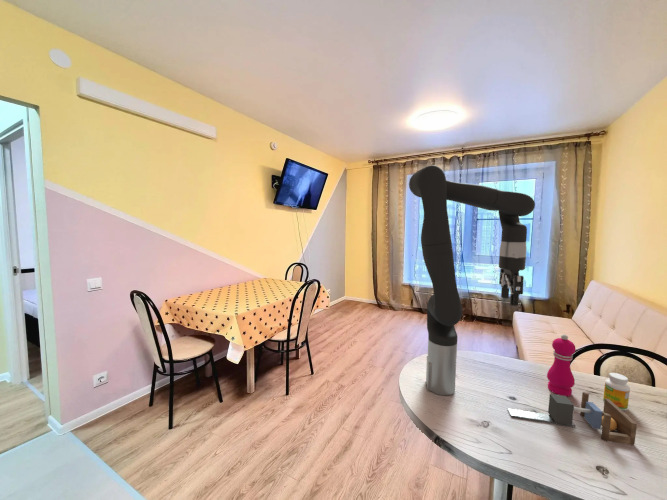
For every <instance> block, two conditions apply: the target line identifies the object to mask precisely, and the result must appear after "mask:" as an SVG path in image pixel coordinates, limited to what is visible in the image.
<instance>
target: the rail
mask: <svg viewBox="0 0 667 500" xmlns="http://www.w3.org/2000/svg"><path fill="white" fill-rule="evenodd" d="M507 412H508V414H509V416H510V418H515V419H522V420H526V421H527V420H528V421H534V422H541V423H547V424H551V425H559V426H565V427H572V428H576V427H577V426H576V425H577V424H575V422H574V421H573V420H572V425H569V424H563V423H557V422H555V421H554V420H553V419H552V417H551V416H550V414H549V413H548V414H547V413H540V412H534V411H527V410H522V409H513V408H507Z"/></svg>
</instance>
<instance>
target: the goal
mask: <svg viewBox="0 0 667 500" xmlns="http://www.w3.org/2000/svg"><path fill="white" fill-rule="evenodd" d="M581 393H582V394H581V404H580V408H584V409H585V407H586V401H587V402H589V397H590V394H589V393H588V392H584V391H582V392H581ZM601 411H602V412H603V413H602V416H604V417H603V425H602V426H601V435H600V439H601V440H603V441H604V442H611V443H618V444H625V445H631V446H635V444H636V443H635V442H636V435H637V427H638V423H637V422H636V421H634V419H632V418H631V417H630V416H629V415H628V414H626V413H625V412H624V410H621V409H620V408H618V407H617V406H616V405H615V404H614V403H613V402H612V401H611V400H609V399H605V401H603V410H601ZM579 414H580V416H581V417H583V418H584V416H585V412H579ZM611 418H612V419H614V420H615V422H616V423H617V429H616V430H615V432H614V431H610V424H611Z"/></svg>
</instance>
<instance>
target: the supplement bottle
mask: <svg viewBox="0 0 667 500" xmlns="http://www.w3.org/2000/svg"><path fill="white" fill-rule="evenodd" d="M628 379H629V378H628V377H626V376H625V375H623V374H621V373H617V372H609V374H608V378H606V379H605V381H604V390H603V396H602V402H604V401H605V399H609V400H611V401H612V402H613V403H614V404H615V405H616V406H617V407H618V408H620V409H621V410H622V411H627V410H628V407H629V399H630V392H631V388H630V386H629V385H628Z"/></svg>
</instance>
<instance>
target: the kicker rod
mask: <svg viewBox="0 0 667 500" xmlns="http://www.w3.org/2000/svg"><path fill="white" fill-rule="evenodd" d="M548 398H549V399H548V410H547V413H548V415H550V416H551V417H552V419H553V420H554V421H555V422H557V423H563V424H569V425H572V421H573V419H574V412H579V413H580V412H585V416H584V417H583V419H584V420H585V421H586V422H587V423H588V424H589V425H590V426H591V427H592V429H595V430H602V426H601V421H602V413H603V412H602V411H603V410H601V409H600V408H599V407H598V406H597V405H596V404H595V403H594V402H593V401H588V402H587V401H586V407H585V409H584V408H581V407H575V404H574V403H573V402H572V401H571V400H570V398H568V397H567V396H562V395H557V394H555V393H549V397H548Z"/></svg>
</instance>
